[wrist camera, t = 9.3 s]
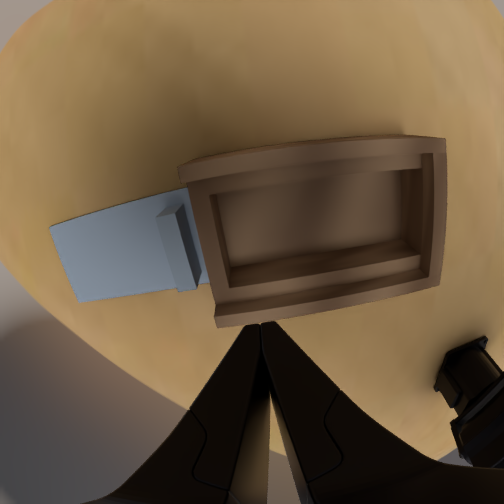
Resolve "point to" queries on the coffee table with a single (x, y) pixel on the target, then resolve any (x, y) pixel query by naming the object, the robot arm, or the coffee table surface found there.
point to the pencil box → (319, 223)
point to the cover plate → (132, 248)
